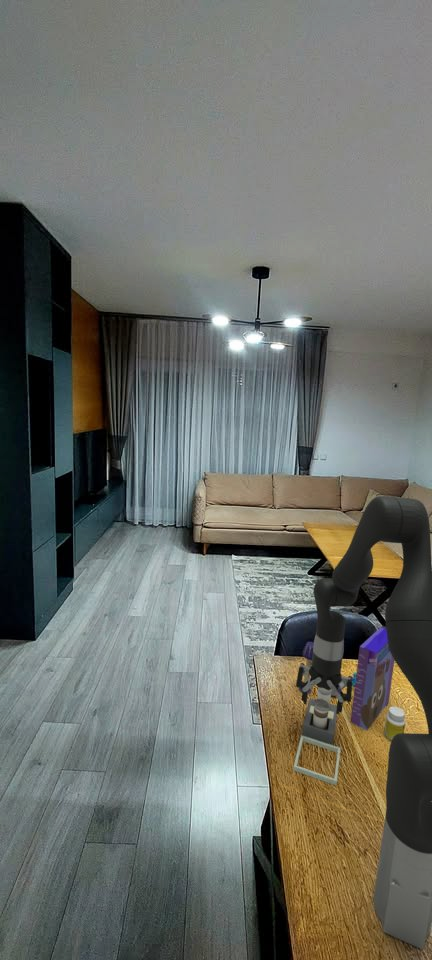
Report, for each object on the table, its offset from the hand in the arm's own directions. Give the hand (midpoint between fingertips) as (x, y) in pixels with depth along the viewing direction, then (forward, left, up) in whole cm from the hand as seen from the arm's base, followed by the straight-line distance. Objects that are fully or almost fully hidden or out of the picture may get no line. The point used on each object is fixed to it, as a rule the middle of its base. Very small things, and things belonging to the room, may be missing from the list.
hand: (321, 707), depth 113 cm
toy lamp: (+16, +6, -9) cm, 19 cm away
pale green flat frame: (-10, -1, -8) cm, 13 cm away
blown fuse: (0, 0, -7) cm, 7 cm away
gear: (+28, -10, -9) cm, 31 cm away
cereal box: (+15, -13, -9) cm, 22 cm away
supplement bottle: (+7, -19, -9) cm, 22 cm away
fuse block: (+3, 0, -8) cm, 9 cm away
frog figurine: (+19, -2, -9) cm, 21 cm away
